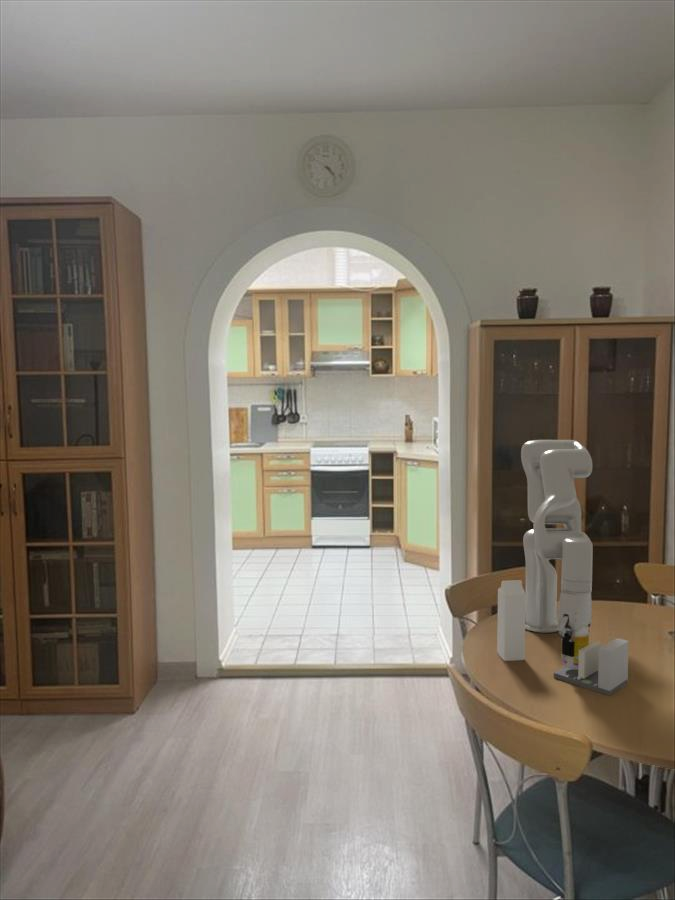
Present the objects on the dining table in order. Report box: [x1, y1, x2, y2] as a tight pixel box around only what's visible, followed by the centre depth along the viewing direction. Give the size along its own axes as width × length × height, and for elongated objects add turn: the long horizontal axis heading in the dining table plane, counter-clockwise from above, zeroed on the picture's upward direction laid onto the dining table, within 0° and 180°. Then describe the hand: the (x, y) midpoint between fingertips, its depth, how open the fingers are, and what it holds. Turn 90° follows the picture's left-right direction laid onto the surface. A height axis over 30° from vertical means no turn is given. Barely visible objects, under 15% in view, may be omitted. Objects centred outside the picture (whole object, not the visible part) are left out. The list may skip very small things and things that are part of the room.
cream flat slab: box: [577, 640, 602, 679], centre depth 172 cm, size 2×10×7 cm, turn 133°
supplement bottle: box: [561, 622, 590, 669], centre depth 175 cm, size 7×7×13 cm
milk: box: [496, 579, 526, 662], centre depth 188 cm, size 6×6×22 cm
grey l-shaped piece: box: [553, 637, 630, 697], centre depth 172 cm, size 15×10×11 cm, turn 43°
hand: (575, 650), depth 175 cm, fingers closed on supplement bottle, 6 cm apart
